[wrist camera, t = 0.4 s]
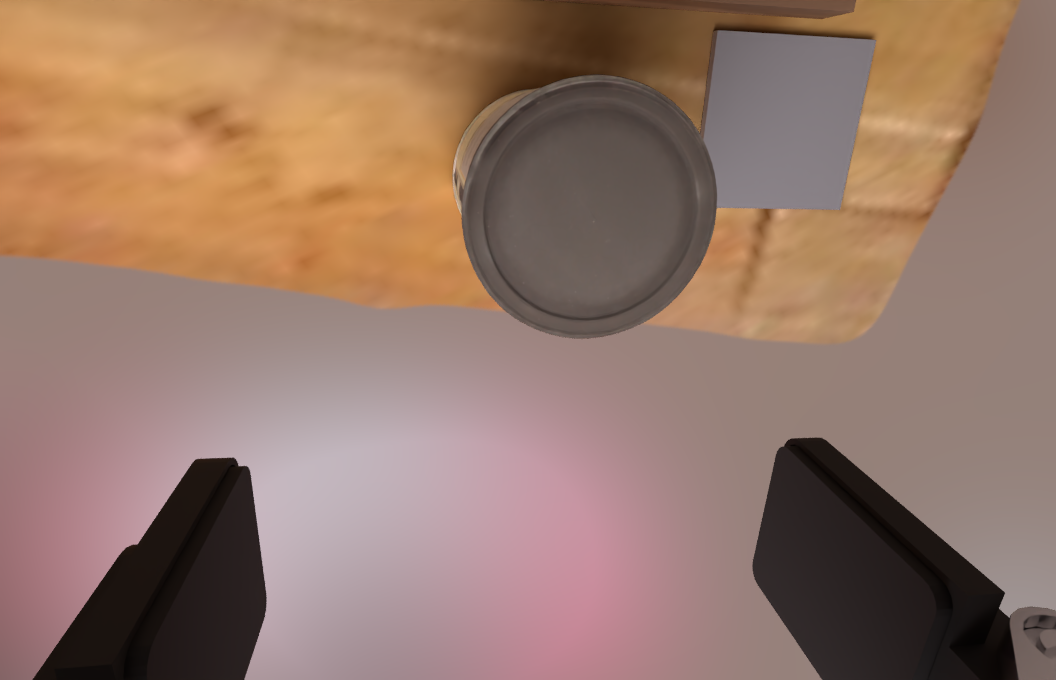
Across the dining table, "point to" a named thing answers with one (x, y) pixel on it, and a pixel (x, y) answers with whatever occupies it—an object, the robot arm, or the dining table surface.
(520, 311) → the coffee can
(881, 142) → the dining table surface
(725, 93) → the coaster
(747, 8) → the brown u-shaped frame
